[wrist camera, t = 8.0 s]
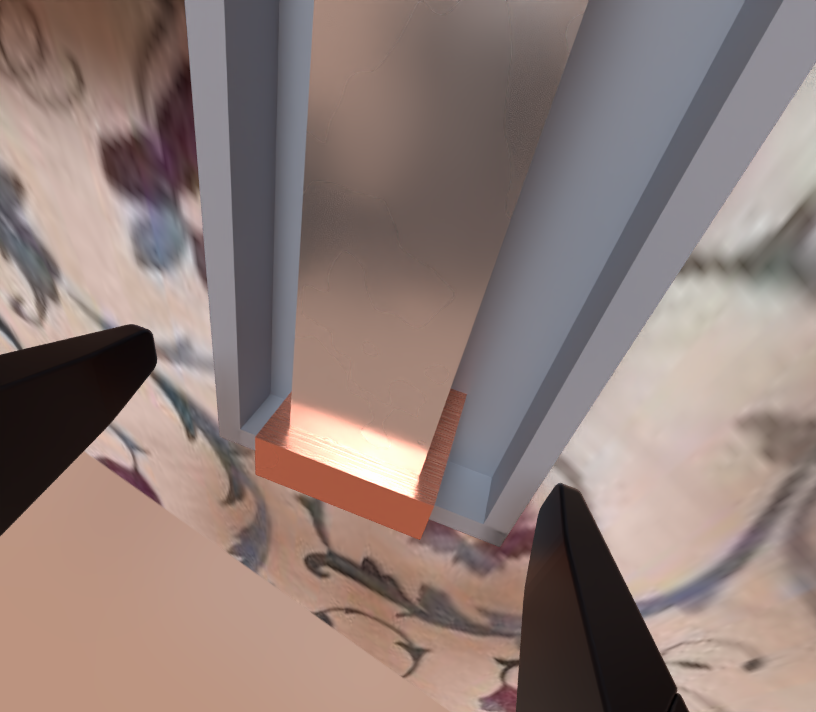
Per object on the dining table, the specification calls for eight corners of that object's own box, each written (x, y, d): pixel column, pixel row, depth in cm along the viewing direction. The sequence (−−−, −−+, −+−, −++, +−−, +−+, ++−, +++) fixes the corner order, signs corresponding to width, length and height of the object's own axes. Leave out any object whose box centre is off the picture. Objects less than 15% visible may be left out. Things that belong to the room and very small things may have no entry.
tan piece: (420, -454, 6) (234, -1066, 3) (779, -403, 5) (1096, -1079, 2) (324, 379, 15) (255, 474, 12) (454, 427, 15) (420, 539, 11)
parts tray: (1261, -815, 4) (1904, -1612, 2) (508, 486, 16) (499, 547, 14) (261, -868, 5) (69, -1433, 3) (259, 392, 17) (219, 436, 15)
